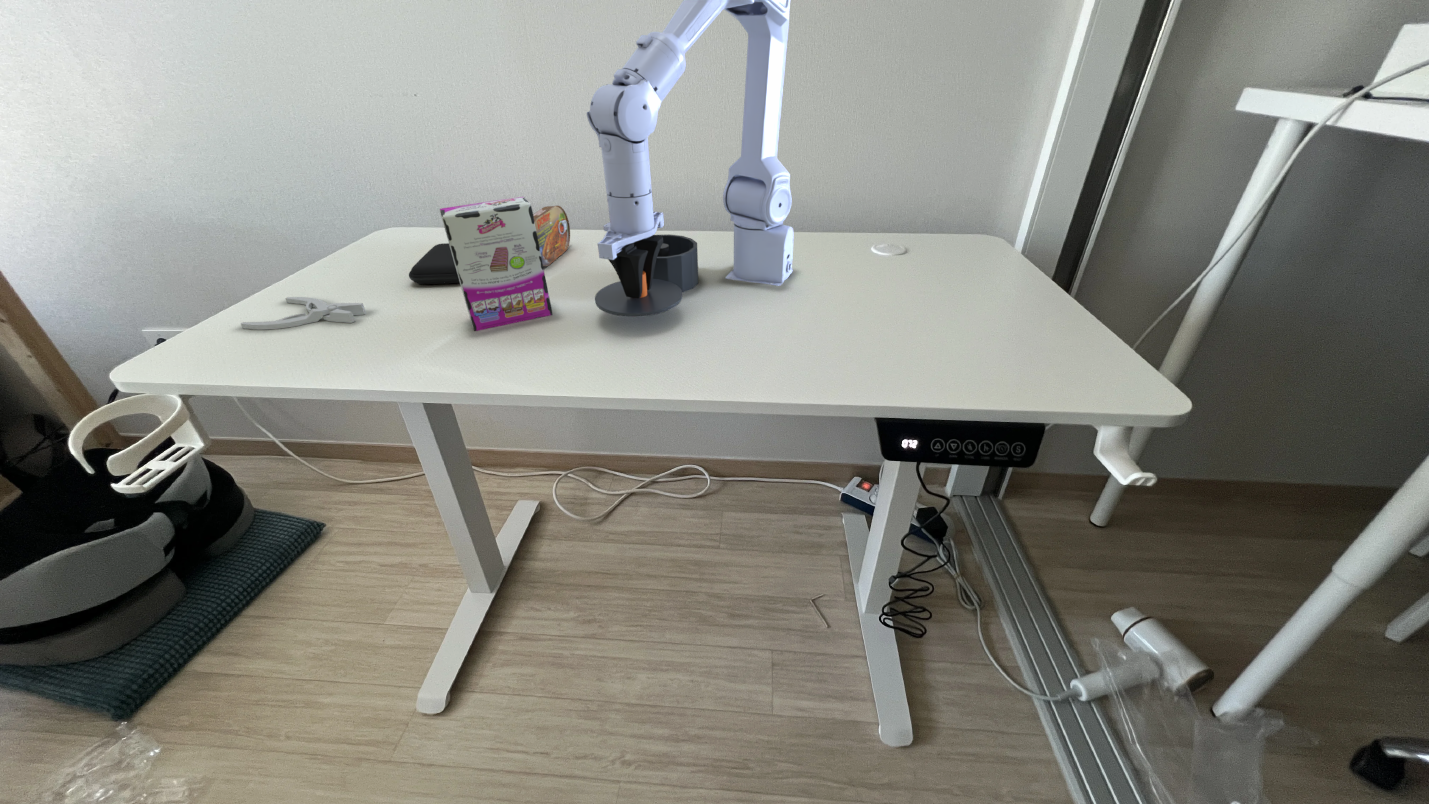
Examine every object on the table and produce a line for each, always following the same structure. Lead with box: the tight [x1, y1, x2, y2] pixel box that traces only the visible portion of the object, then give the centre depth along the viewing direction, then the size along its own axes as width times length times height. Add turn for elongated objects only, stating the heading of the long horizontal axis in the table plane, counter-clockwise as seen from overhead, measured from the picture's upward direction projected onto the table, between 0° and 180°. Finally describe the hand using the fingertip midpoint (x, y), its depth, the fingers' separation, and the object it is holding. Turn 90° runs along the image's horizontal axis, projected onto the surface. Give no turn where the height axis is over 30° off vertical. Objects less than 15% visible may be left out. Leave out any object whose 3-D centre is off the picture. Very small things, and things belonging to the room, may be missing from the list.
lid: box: [594, 271, 683, 318], centre depth 81 cm, size 12×12×4 cm
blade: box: [657, 243, 669, 257], centre depth 94 cm, size 5×5×6 cm
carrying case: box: [408, 242, 460, 285], centre depth 101 cm, size 11×3×15 cm
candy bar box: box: [439, 196, 554, 332], centre depth 81 cm, size 11×5×16 cm, turn 117°
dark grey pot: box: [653, 234, 699, 294], centre depth 94 cm, size 11×11×6 cm
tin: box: [533, 205, 571, 267], centre depth 104 cm, size 15×3×8 cm, turn 168°
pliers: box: [240, 296, 367, 331], centre depth 87 cm, size 10×2×15 cm
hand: (638, 292), depth 82 cm, fingers closed on lid, 2 cm apart
